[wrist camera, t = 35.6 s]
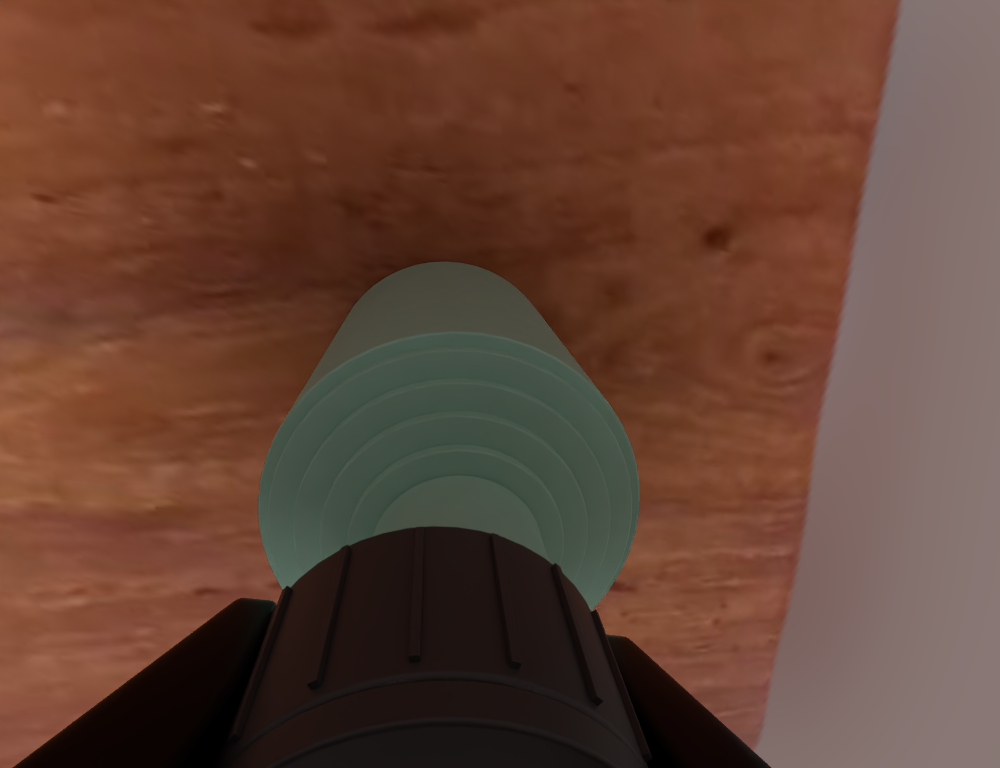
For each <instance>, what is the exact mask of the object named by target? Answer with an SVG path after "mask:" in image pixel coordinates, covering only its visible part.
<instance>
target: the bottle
mask: <svg viewBox="0 0 1000 768" xmlns="http://www.w3.org/2000/svg"><path fill="white" fill-rule="evenodd" d="M639 505H640V485H639V477H638V468H637V464H636V460H635V456H634V453H633V449H632V445H631V443H630V441H629V438H628V436H627V434H626V432H625V429H624V427H623V425H622V423H621V421H620V420H619V418H618V417H617V415H616V413H615V412H614V410H613V409H612V407H611V405H610V404H609V403H608V401H607V400H606V399H605V398H604V396H603V395H602V394H601V392H600V391H599V390H598V389H597V387H596V386H595V385H594V383H593V382H592V381H591V379H590V378H589V377H588V376H587V374H586V373H585V372H584V370H583V369H582V368H581V367H580V365H579V364H578V363H577V361H576V360H575V359H574V357H573V356H572V355H571V354H570V352H569V351H568V350H567V348H566V347H565V346H564V345H563V343H562V342H561V341H560V339H559V338H558V337H557V336H556V334H555V333H554V332H553V330H552V329H551V328H550V326H549V325H548V324H547V323H546V321H545V320H544V319H543V317H542V316H541V315H540V314H539V312H538V311H537V310H536V308H535V307H534V306H533V305H532V303H531V302H530V301H529V300H528V299H527V298H526V296H525V295H524V294H523V293H522V292H521V291H519V290H518V289H517V288H516V287H515V286H514V285H512V284H511V283H510V282H508V281H507V280H505V279H504V278H502V277H501V276H499V275H497V274H495V273H493V272H491V271H489V270H486V269H483V268H480V267H477V266H474V265H470V264H465V263H460V262H447V261H442V262H428V263H423V264H418V265H413V266H410V267H407V268H404V269H401V270H399V271H397V272H395V273H393V274H391V275H389V276H387V277H385V278H384V279H382V280H381V281H379V282H378V283H376V284H375V285H374V286H372V287H371V288H370V289H369V290H368V291H367V292H366V293H365V294H363V295H362V297H361V298H360V299H359V300H358V301H357V303H356V304H355V305H354V306H353V308H352V309H351V311H350V312H349V314H348V316H347V317H346V319H345V320H344V322H343V324H342V325H341V327H340V329H339V330H338V332H337V333H336V335H335V337H334V338H333V340H332V342H331V343H330V345H329V347H328V348H327V350H326V352H325V353H324V355H323V357H322V358H321V360H320V361H319V363H318V365H317V366H316V368H315V370H314V371H313V373H312V375H311V376H310V378H309V380H308V381H307V383H306V385H305V386H304V388H303V389H302V391H301V393H300V394H299V396H298V398H297V399H296V401H295V403H294V404H293V406H292V408H291V409H290V411H289V413H288V414H287V416H286V417H285V419H284V421H283V422H282V424H281V426H280V427H279V429H278V431H277V433H276V435H275V437H274V439H273V442H272V444H271V446H270V448H269V451H268V453H267V456H266V460H265V463H264V467H263V470H262V474H261V479H260V487H259V496H258V515H259V527H260V532H261V537H262V543H263V547H264V549H265V552H266V555H267V558H268V561H269V564H270V567H271V569H272V571H273V573H274V575H275V577H276V578H277V580H278V582H279V584H280V586H281V588H282V589H284V588H285V587H286V586H289V587H290V588H291V586H292V585H293V584H294V583H295V582H296V581H297V580H298V579H299V578H300V577H302V576H303V575H304V574H305V573H306V572H308V571H309V570H310V569H311V568H313V567H314V566H315V565H316V564H318V563H319V562H321V561H322V560H324V559H326V558H327V557H329V556H331V555H332V554H334V553H336V552H337V551H339V550H340V549H341V547H343V546H345V545H352V544H354V543H356V542H358V541H360V540H363V539H366V538H369V537H373V536H376V535H379V534H382V533H386V532H391V531H396V530H401V529H405V528H411V527H413V528H415V527H422V526H423V527H428V526H444V527H460V528H467V529H473V530H480V531H483V532H487V533H494V534H498V535H499V536H501V537H505V538H506V539H509V540H511V541H514V542H516V543H518V544H521V545H523V546H525V547H527V548H528V549H530V550H532V551H533V552H535V553H537V554H539V555H540V556H542V557H544V558H545V559H546V560H548V561H549V562H550V563H551V564H554V563H556V564H558V565H559V566H560V567H561V570H562V573H563V574H564V575H565V576H566V577H567V578H568V579H569V580H570V581H571V582H572V583H573V584H574V585H575V586H576V588H577V589H578V591H579V592H580V593H581V595H582V596H583V598H584V599H585V601H586V602H587V604H588V606H589V608H590V610H591V611H592V610H593V609H594V608H595V607H596V605H597V604H598V603H599V602H600V600H601V599H602V598H603V597H604V596H605V594H606V593H607V592H608V591H609V589H610V588H611V586H612V584H613V583H614V581H615V580H616V578H617V576H618V575H619V573H620V571H621V569H622V567H623V565H624V563H625V561H626V559H627V556H628V554H629V552H630V549H631V545H632V542H633V539H634V536H635V533H636V527H637V521H638V515H639Z"/></svg>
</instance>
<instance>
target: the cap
mask: <svg viewBox="0 0 1000 768" xmlns="http://www.w3.org/2000/svg"><path fill="white" fill-rule="evenodd" d="M649 760H652V756H651V753H650V751H649V748H648V745H647V743H646V740H645V737H644V735H643V732H642V729H641V727H640V724H639V721H638V719H637V716H636V713H635V711H634V708H633V705H632V703H631V700H630V697H629V695H628V692H627V689H626V687H625V684H624V681H623V678H622V676H621V673H620V670H619V668H618V665H617V662H616V660H615V657H614V654H613V652H612V649H611V646H610V644H609V641H608V638H607V636H606V633H605V630H604V628H603V625H602V622H601V620H600V617H599V614H598V612H597V610H594V611H592V612H591V610H590V608H589V606H588V604H587V602H586V601H585V599H584V598H583V596H582V595H581V593H580V592H579V591H578V589H577V588H576V586H575V585H574V584H573V583H572V582H571V581H570V580H569V579H568V578H567V577H566V576H565V575H564V574H563V573H562V570H561V567H560V566H559V565H558V564H556V563H554V564H551V563H550V562H549V561H548V560H546V559H545V558H544V557H542V556H540V555H539V554H537V553H535V552H533V551H532V550H530V549H528V548H527V547H525V546H523V545H521V544H518V543H516V542H514V541H511V540H509V539H506V538H505V537H501V536H499V535H498V534H494V533H487V532H483V531H480V530H473V529H467V528H460V527H444V526H428V527H423V526H422V527H415V528H413V527H411V528H405V529H401V530H396V531H391V532H386V533H382V534H379V535H376V536H373V537H369V538H366V539H363V540H360V541H358V542H356V543H354V544H352V545H345V546H343V547H341V549H340V550H339V551H337V552H336V553H334V554H332V555H331V556H329V557H327V558H326V559H324V560H322V561H321V562H319V563H318V564H316V565H315V566H314V567H313V568H311V569H310V570H309V571H308V572H306V573H305V574H304V575H303V576H302V577H300V578H299V579H298V580H297V581H296V582H295V583H294V584H293V585H292V586H291V588H290V587H289V586H286V587H285V588H284V589H283V590H282V593H281V595H280V598H279V601H278V604H277V605H276V606H275V608H274V609H273V611H272V612H271V616H270V619H269V622H268V625H267V628H266V630H265V633H264V636H263V639H262V642H261V644H260V647H259V650H258V652H257V655H256V658H255V661H254V663H253V666H252V669H251V671H250V674H249V677H248V679H247V682H246V684H245V687H244V689H243V692H242V695H241V697H240V699H239V701H238V704H237V706H236V708H235V711H234V713H233V716H232V718H231V721H230V723H229V725H228V728H227V730H226V733H225V735H224V738H223V740H222V742H221V745H220V747H219V750H218V752H217V754H216V757H215V759H214V762H213V764H212V767H211V768H648V765H647V761H649Z"/></svg>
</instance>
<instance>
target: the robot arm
mask: <svg viewBox="0 0 1000 768" xmlns="http://www.w3.org/2000/svg"><path fill="white" fill-rule="evenodd" d="M275 606H276V603H275V602H273V601H270V600H260V599H250V598H240V599H237V600H235V601H234V602H232V603H231V604H230V605H228V606H227V607H226V608H224V609H223V610H222V611H220V612H219V613H218V614H216V615H215V616H214V617H213V618H211V619H210V620H209V621H207V622H206V623H205V624H203V625H202V626H201V627H199V628H198V629H197V630H195V631H194V632H193V633H191V634H190V635H189V636H187V637H186V638H185V639H183V640H182V641H181V642H179V643H178V644H177V645H175V646H174V647H173V648H171V649H170V650H169V651H167V652H166V653H165V654H163V655H162V656H161V657H159V658H158V659H157V660H155V661H154V662H153V663H151V664H150V665H149V666H147V667H146V668H145V669H143V670H142V671H141V672H139V673H138V674H137V675H135V676H134V677H133V678H131V679H130V680H129V681H127V682H126V683H125V684H123V685H122V686H121V687H119V688H118V689H117V690H115V691H114V692H113V693H111V694H110V695H109V696H107V697H106V698H105V699H103V700H102V701H101V702H99V703H98V704H97V705H95V706H94V707H93V708H91V709H90V710H89V711H87V712H86V713H85V714H83V715H82V716H81V717H79V718H78V719H77V720H75V721H74V722H73V723H71V724H70V725H69V726H67V727H66V728H65V729H63V730H62V731H61V732H59V733H58V734H57V735H55V736H54V737H53V738H51V739H50V740H49V741H47V742H46V743H45V744H43V745H42V746H41V747H40V748H38V749H37V750H36V751H34V752H33V753H32V754H30V755H29V756H28V757H26V758H25V759H24V760H22V761H21V762H20V763H18V764H17V765H16V766H14V767H13V768H211V767H212V764H213V762H214V759H215V757H216V754H217V752H218V750H219V747H220V745H221V742H222V740H223V738H224V735H225V733H226V730H227V728H228V725H229V723H230V721H231V718H232V716H233V713H234V711H235V708H236V706H237V704H238V701H239V699H240V697H241V695H242V692H243V689H244V687H245V684H246V682H247V679H248V677H249V674H250V671H251V669H252V666H253V663H254V661H255V658H256V655H257V652H258V650H259V647H260V644H261V642H262V639H263V636H264V633H265V630H266V628H267V625H268V622H269V619H270V616H271V612H272V611H273V609H274V608H275ZM606 636H607V638H608V641H609V644H610V646H611V649H612V652H613V654H614V657H615V660H616V662H617V665H618V668H619V670H620V673H621V676H622V678H623V681H624V684H625V687H626V689H627V692H628V695H629V697H630V700H631V703H632V705H633V708H634V711H635V713H636V716H637V719H638V721H639V724H640V727H641V729H642V732H643V735H644V737H645V740H646V743H647V745H648V748H649V751H650V753H651V756H652V760H649V761H647V765H648V768H771V767H770V766H769V765H768V764H767V763H765V762H764V761H763V760H762V759H761V758H760V757H759V756H758V755H757V754H755V752H753V751H752V750H751V749H750V748H749V747H748V746H747V745H746V744H745V743H744V742H742V741H741V740H740V739H739V738H738V737H737V736H736V735H735V734H734V733H733V732H731V731H730V730H729V729H728V728H727V727H726V726H725V725H724V724H723V723H722V722H720V721H719V720H718V719H717V718H716V717H715V716H714V715H713V714H712V713H711V712H709V711H708V710H707V709H706V708H705V707H704V706H703V705H702V704H701V703H700V702H698V701H697V700H696V699H695V698H694V697H693V696H692V695H691V694H690V693H688V692H687V691H686V690H685V689H684V688H683V687H682V686H681V685H680V684H679V683H677V682H676V681H675V680H674V679H673V678H672V677H671V676H670V675H669V674H668V673H666V672H665V671H664V670H663V669H662V668H661V667H660V666H659V665H658V664H657V663H655V662H654V661H653V660H652V659H651V658H650V657H649V656H648V655H647V654H646V653H644V652H643V651H642V650H641V649H640V648H639V647H638V646H637V645H636V644H635V643H633V642H632V641H631V640H630V639H628V638H626V637H623V636H613V635H606Z"/></svg>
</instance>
